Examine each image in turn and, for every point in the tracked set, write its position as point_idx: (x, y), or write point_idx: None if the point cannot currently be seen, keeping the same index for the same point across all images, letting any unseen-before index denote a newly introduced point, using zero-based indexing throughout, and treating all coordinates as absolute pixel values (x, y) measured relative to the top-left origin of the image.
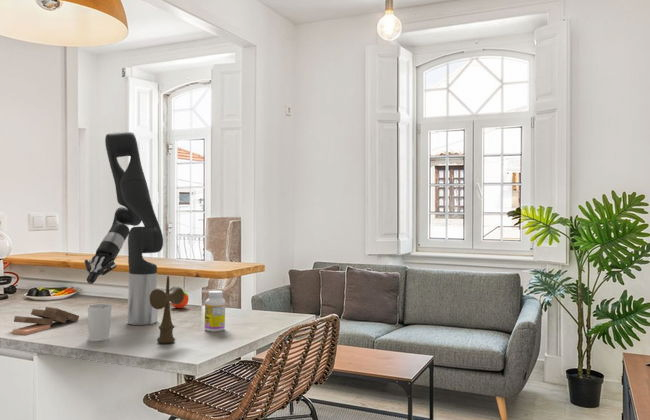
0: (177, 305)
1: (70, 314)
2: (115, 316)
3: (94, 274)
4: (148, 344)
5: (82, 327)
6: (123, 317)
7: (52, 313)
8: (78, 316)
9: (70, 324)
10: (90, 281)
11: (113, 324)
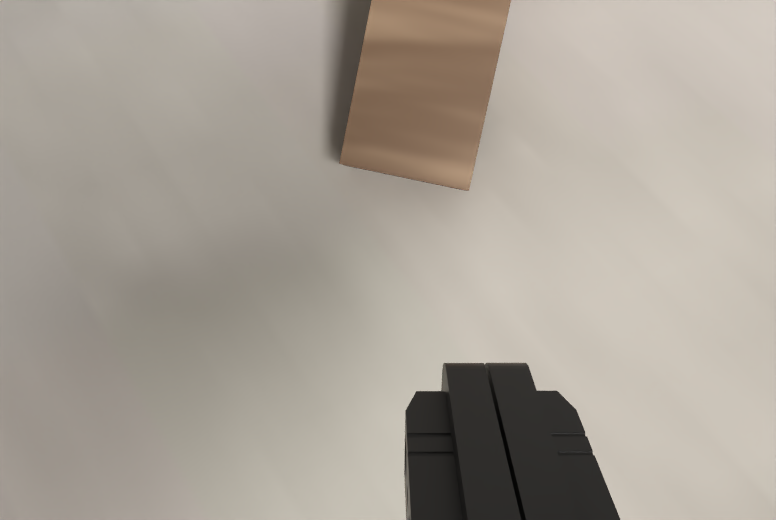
0: None
1: (360, 66)
2: (142, 468)
3: (461, 511)
4: None
5: (182, 17)
6: (43, 454)
7: None
8: (341, 158)
9: (324, 64)
10: (443, 375)
11: (4, 168)
